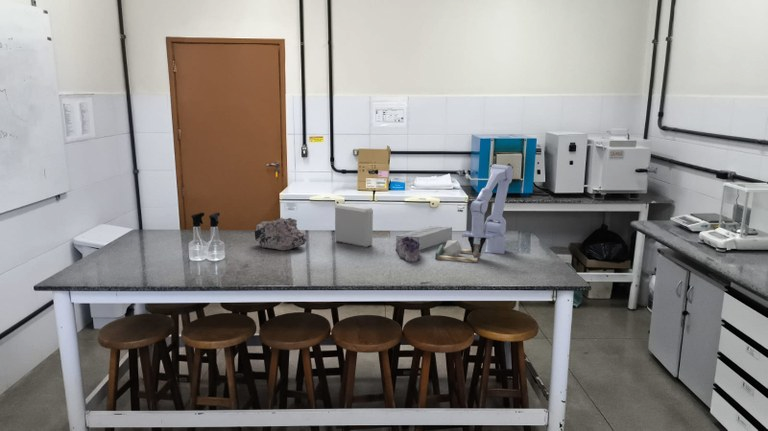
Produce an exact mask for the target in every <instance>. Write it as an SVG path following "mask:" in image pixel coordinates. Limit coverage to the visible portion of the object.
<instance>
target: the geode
mask: <svg viewBox="0 0 768 431" xmlns="http://www.w3.org/2000/svg"><path fill="white" fill-rule="evenodd" d="M419 245H420V243H419V241H416V240H413V239H412V238H409V237H405V238H403V239H398V240H397V242H396V243H395V252H396V253H397V254H398V257H399V258H400V259H404V262H408V263H416V262H418V261H420V250H419Z"/></svg>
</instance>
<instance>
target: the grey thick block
mask: <svg viewBox="0 0 768 431" xmlns="http://www.w3.org/2000/svg"><path fill="white" fill-rule="evenodd" d="M373 212H374V210H373V209H372V207H368V206H367V207H366V206H360V205H353V204H347V203H338V204H336V205H335V206H334V217H335V218H334V228H335V229H334V240H335V241H336V242H337V243H341V242H342V243H341V244H346V243H347V244H348V245H351V244H352V246H356V245H358V247H361V246H363V247H362V248H368V246H369V247H371V246H372V245H373V235H374V234H373V228H374V227H373V225H374V224H373V223H374V221H373V219H374V215H373V214H374V213H373ZM347 244H346V245H347Z"/></svg>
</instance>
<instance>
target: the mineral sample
mask: <svg viewBox="0 0 768 431" xmlns="http://www.w3.org/2000/svg"><path fill="white" fill-rule="evenodd" d="M297 222H298V221H297V219H294V218H292V217H288V218H283V217H280V218H277V219H276V220H275V219H271V220H269V221H261V222H260V223H258V224H257V225H256V227H255V230H254V239H255V241H256V242H258V244H259V245H260V246H261V248H263V249H273V250H279V251H287V250H288V251H289V250H293V249H295V248H297V247H302V246H304V245H305V244H306V242H307V235H306V234H305V233H304V232H302V231H301V230H299V228H298V227H297V225H298V223H297Z"/></svg>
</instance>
